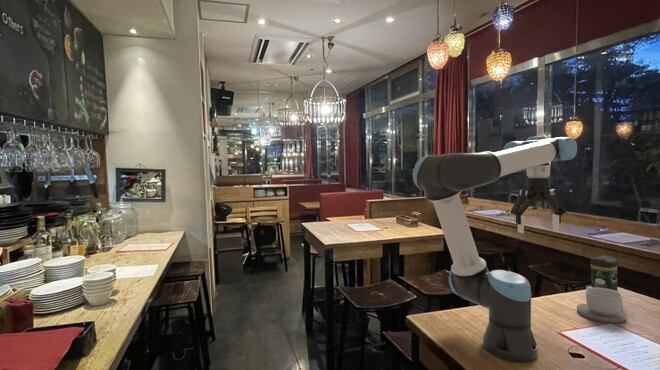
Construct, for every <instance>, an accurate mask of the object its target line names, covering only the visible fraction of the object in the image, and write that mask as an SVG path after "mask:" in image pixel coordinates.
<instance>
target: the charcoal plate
mask: <svg viewBox="0 0 660 370" xmlns="http://www.w3.org/2000/svg"><path fill="white" fill-rule="evenodd" d="M576 312H577V314H578V315H580V316H582V317H584V318H586V319H589V320H592V321H595V322H599V323H606V324H614V325H615V324H623V323H625V322H626V320H627V315H626V313H624V312H623V311H621V312H620V313H618V314H616V315H614V316H604V315H600V314H597V313H595V312H593V311H592V310H591V309H590V308H589V307H588V305H587V303H580V304H578V305H577V306H576Z"/></svg>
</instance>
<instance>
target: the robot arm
mask: <svg viewBox="0 0 660 370" xmlns="http://www.w3.org/2000/svg"><path fill="white" fill-rule="evenodd" d="M577 152H578V144H577V141H576V139H574V138H573V137H570V136H565V137H564V136H560V137H554V138H553V137H552V138H550V137H549V136H547V135H539V136H538V135H537V136H528V138H526V140H522V141H521V140H520V141H518V140H514V141H509V142H507V143H506V144H505V145H504V146H503V149H502V150H500V151H494V152H492V151H489V150H486V151H480V152H454V153H443V154H433V153H432V154H431V155H425V156H422V157H421V158H419V159H418V161H416V162H415V165H414V168H413V169H412V180H413V184H414V185H415V186H416V187H417V188H418V189H419V190H421V191H423V192H424V194H425V198H426V200H427V201H428V202H431V203H432V204H433V206H434V210H435V213H436V215H437V219H438V221H439V224H440V226H441V230H442V232H443V233H442V234H443V235H444V239H445V243H446V245H447V248H448V250H449V251H448V252H449V253H450V257H451V259H452V262H453V263H452V264H451V266H450V271H449V275H450V276H448V283H449V287H450V289H451V291H452V292H453V293H454V294H455V295H457V296H459V297H460V298H461V299H463V300H467V301H469V302H471V303H473V304H476V305H478V306H481V307H483V308H485V309H487V310H488V323H487V324H486V325H487V326H486V329H485V331H484V335H483V337H482V346H483V348H484V349H485V350H486V352H488V353H490V354H491V355H492V356H495V357H497V358H499V359H502V360H506V361H510V362H516V363H517V362H518V363H527V362H532V361H534V360H536V359H537V358H538V349H539V347H538V344H537V341H536V339H535V336H534V334H533V331H532V330H533V329H532V291H531V284H530V281H529V280H528V279H527V278H526V277H524V276H523V275H521V274H519V273H516V272H514V271H510V270H509V271H507V270H504V269H494V270H491V271H490V270H489V269H488V266H487V262H486V260H485V259H484V258H482V257H480V256H479V252H478V250H477V249H478V248H477V246H476V242H475V239H474V237H473V234H472V231H471V228H470V225H469V222H468V219H467V216H466V213H465V210H464V209H465V208H464V207H463V206H464V205H463V203H462V199H461V196H460V195H461V193H462V192H463V191H468V190H471V189H472V190H473V189H475V188H478V187H479V188H480V187H482V186H486V185H488V184H491V183H492V184H493V183H494V182H497V181H498V180H499V179H500V178H501V177H504V176H508V175H511V174H515V173H518V172H520V171H524V170H526V176H527V178H526V187H527V189H526V190H525V189H519V190H518V193H517V195H518V196H517V198H516V199H515V201H514V204H513V205H512V208H511V210H510V214H511V215H514V216H515V224H516V225H517V233H519V234H525V231H524V230H525V223H524V221H525V217H524V216H523V214H524V213H525V212H526V211H527V209H528V208H529V207H530V206H531V205H532V204H533V203H534V202H535V203H536V202H544V203H545V205H547V206H548V208H549V209H550V210H551V211H552V212H553V214H552V219H551V220H552V221H551V223H552V225H551V226H552V227H551V228H552V232H554V233H560V224H561V222H562V216H563V215H564V214H566V213H567V210H566V207H565V206H564V204H563V202H562V200H561V197H560V196H559V190H558V189H555V188H551V189H550V186H551V180H550V179H551V178H550V174H551V170H550V168H551V167H550V166H551V163H553V162H556V161H563V162H564V161H569V160H572V159H574V158H575V157H576V155H577ZM526 196H527V197H526ZM550 196H551V198H552V199H551V198H550ZM525 197H526V198H525ZM524 199H525V200H524ZM552 200H553V201H552Z"/></svg>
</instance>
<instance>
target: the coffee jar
mask: <svg viewBox="0 0 660 370" xmlns="http://www.w3.org/2000/svg"><path fill="white" fill-rule="evenodd" d="M618 265H619V263H618V259H616V258H615V257H614V256H609V255H601V256H596V257H593V258H591V259H590V267H591V268H590V269H591V287H593V288H606V289H611V290H615V291H617V292H619V291H618V267H619V266H618Z"/></svg>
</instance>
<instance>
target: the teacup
mask: <svg viewBox="0 0 660 370" xmlns="http://www.w3.org/2000/svg"><path fill="white" fill-rule="evenodd" d="M584 290H585V300H586V304H587V305H588V307H589V308H590V309H591V310H592V311H593V312H595V313H597V314H600V315H604V316H614V315H616V314H618V313H620V312H622V310H623V297H624V295H623V294H622V293H621V292H620V291H618V292H617V291H615V290H611V289H606V288H593V287H591V286H590V285H589V286H586V287H585V289H584Z"/></svg>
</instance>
